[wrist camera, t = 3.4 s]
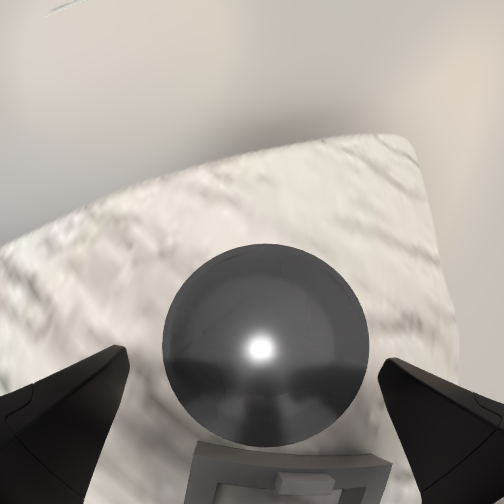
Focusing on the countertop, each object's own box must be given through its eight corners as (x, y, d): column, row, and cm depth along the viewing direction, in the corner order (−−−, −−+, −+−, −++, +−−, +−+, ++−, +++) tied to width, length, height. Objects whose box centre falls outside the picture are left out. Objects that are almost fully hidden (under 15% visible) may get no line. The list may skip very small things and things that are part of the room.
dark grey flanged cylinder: (306, 375, 17) (405, 380, 7) (219, 417, 16) (217, 487, 5) (264, 293, 19) (313, 209, 9) (177, 330, 17) (122, 285, 7)
